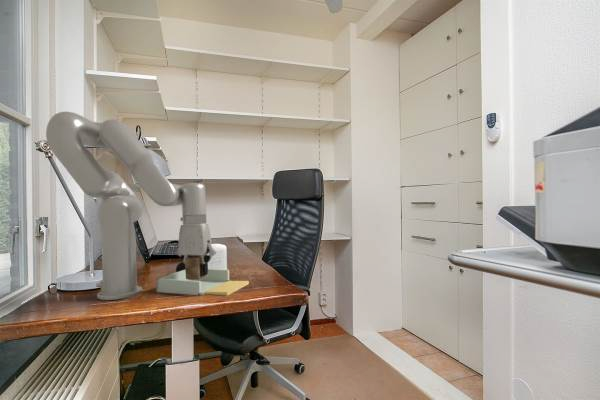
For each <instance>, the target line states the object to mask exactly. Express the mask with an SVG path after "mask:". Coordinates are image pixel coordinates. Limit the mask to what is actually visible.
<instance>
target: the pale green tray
mask: <svg viewBox="0 0 600 400" xmlns="http://www.w3.org/2000/svg"><path fill="white" fill-rule="evenodd" d="M227 281H232V280H231V279H230V269H227V270H225V269H208V276H206V277H204V278H201V279H199V280H198V279H186V271H185V270H182V271H179V272H176V271H175V272H173V273H171V274H170V273H169V274H168V275H165V276H162V277H159V278H156V279H155V282H156V283H155V286H156V287H155V288H156V289H155V290H156V293H163V294H164V293H167V294H176V295H177V294H179V295H191V296H203V295H205V294H204V292H205V291H207V290H210V289H212V288H214V287H216V286H218V285H220V284H222V283H225V282H227Z"/></svg>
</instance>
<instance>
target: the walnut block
mask: <svg viewBox="0 0 600 400" xmlns="http://www.w3.org/2000/svg"><path fill="white" fill-rule="evenodd" d="M204 259H205V258H204ZM200 264H202V263H201V259H200V256H193V255H192V256H189V257H185V271H186V279H198V280H199V279H201V278H204V277H206V276H208V274H207V275H205V276H201V274H200Z"/></svg>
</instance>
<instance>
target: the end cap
mask: <svg viewBox="0 0 600 400" xmlns="http://www.w3.org/2000/svg"><path fill="white" fill-rule="evenodd" d="M182 270H185V264H184V263H183V260H182V261H180V262H179V263H178V264H177V265H176V267H175V273H176V272H179V271H182Z"/></svg>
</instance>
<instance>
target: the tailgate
mask: <svg viewBox="0 0 600 400" xmlns="http://www.w3.org/2000/svg"><path fill="white" fill-rule="evenodd" d="M249 284H250V281H249V280H231V281H227V282H225V283H222V284H220V285H218V286H216V287H214V288H212V289H210V290H207V291H205V292H204V294H203V295H211V296H213V295H214V296H215V295H216V296H225V297H226V296H227V297H228V296H229V295H231V294H233V293H235V292H237V291H239V290H240V289H243V288H244V287H246V286H247V285H249Z"/></svg>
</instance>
